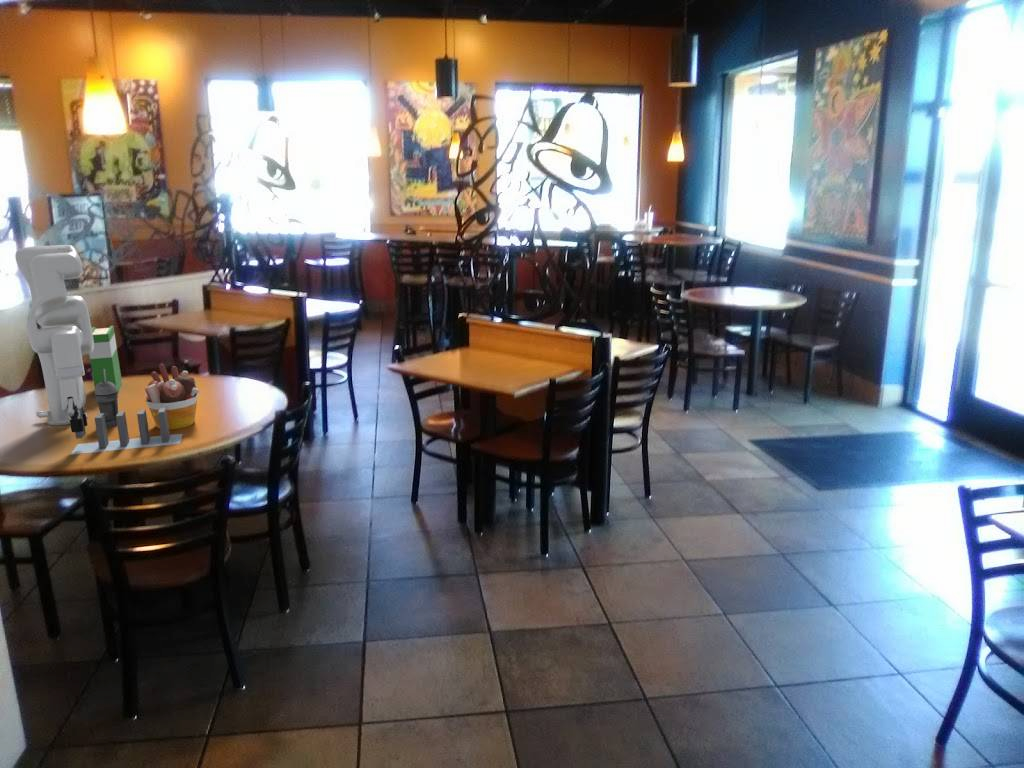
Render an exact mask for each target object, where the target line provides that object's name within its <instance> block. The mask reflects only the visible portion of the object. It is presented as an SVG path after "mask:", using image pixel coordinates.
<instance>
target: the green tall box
mask: <svg viewBox="0 0 1024 768" xmlns="http://www.w3.org/2000/svg"><path fill="white" fill-rule="evenodd" d="M114 327H115V326H114V325H110V326H109V327H103V328H102V327H101V328H96V326H93V327H92V326H91V328H92V334H93V340H94V350H93V352H92V353H90V354H88V355H89V360H90V361H89V362H90V367H91V372H92V378H93V386H94V389H95V388H96V386H97V385H98V384H99V383H100V382H102V381H105V380H104V370H103V369H105V374H106V381H110V382H112V383H113V384H114V385H115V386H116V387H117V390H118V394H119V393H120V390H121V389H122V388H121V387H122V385H123V380H122V374H121V368H120V360H119V354H118V348H117V347H118V346H117V341H116V334H115V328H114Z"/></svg>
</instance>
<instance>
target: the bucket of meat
mask: <svg viewBox="0 0 1024 768" xmlns="http://www.w3.org/2000/svg"><path fill="white" fill-rule="evenodd" d="M158 368H159V372H160V375H161V377H162V380H161V377H160V376H159V374H158V372H156V371H152V372H151V373H150V376H151V378H152V380H151V381H149V383H148V384H147V386H145V388H144V390H145V393H146V400H145V401H146V405H147V407H148V409H149V411H150V414H151V416H152V419H153V420H154V424H155V426H156V428H157V429H160V424H159V417H158V411H159V409H160V408H165V407H166V411H167V418H168V426H169V431H170V430H171V431H175V430H179V429H185V428H187V427H190V426H192V425H193V424H194V423H195V420H196V414H197V413H196V411H197V403H198V395H199V393H200V392H201V390H200V389H199V388H197V386H196V381H195V378H194V377H189V376H188V375H189V372H188V370H183V371H182V372H181V373H180V375H181V376H179V370H178V367H177V366H175V365H173V366H171V368H170V370H171V377H172V378H169V374H168V371H167V369H166V366H165V364H163V363H160V364H159V365H158Z"/></svg>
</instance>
